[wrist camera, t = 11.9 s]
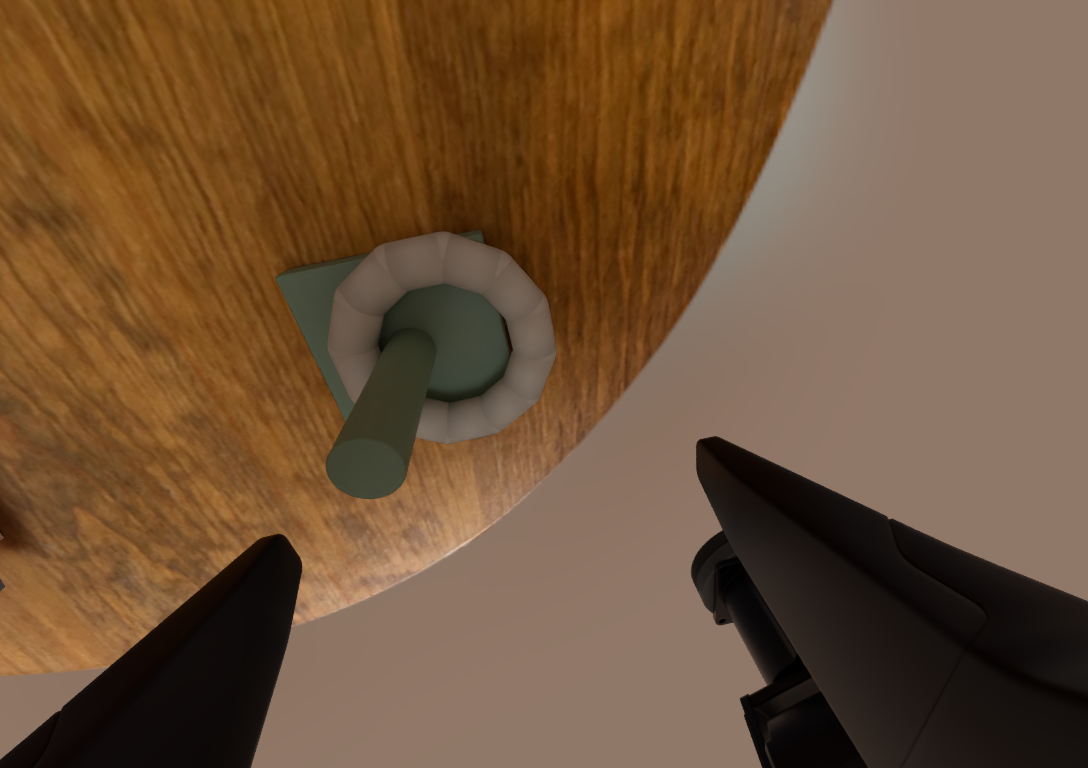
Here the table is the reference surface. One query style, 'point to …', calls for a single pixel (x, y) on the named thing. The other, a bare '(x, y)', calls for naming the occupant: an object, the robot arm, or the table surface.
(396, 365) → the post stand
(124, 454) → the table surface
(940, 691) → the robot arm
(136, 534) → the table surface
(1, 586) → the desk lamp
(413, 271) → the segmented ring
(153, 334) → the table surface
